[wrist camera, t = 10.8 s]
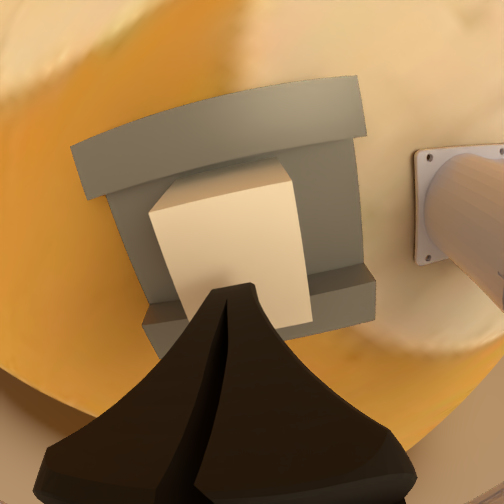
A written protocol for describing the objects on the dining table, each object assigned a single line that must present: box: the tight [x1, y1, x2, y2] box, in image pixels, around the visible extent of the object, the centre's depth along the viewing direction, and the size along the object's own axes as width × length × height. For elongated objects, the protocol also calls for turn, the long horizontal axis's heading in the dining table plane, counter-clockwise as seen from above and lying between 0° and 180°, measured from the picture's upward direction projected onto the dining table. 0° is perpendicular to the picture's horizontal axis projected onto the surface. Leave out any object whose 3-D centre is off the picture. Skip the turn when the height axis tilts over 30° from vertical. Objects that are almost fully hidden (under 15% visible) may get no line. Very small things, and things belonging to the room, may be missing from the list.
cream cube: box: [148, 157, 313, 329], centre depth 14 cm, size 5×6×6 cm
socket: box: [70, 75, 376, 359], centre depth 16 cm, size 13×13×4 cm
